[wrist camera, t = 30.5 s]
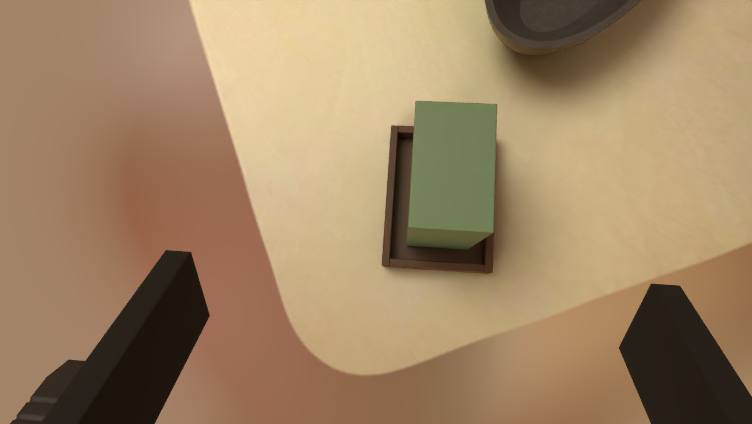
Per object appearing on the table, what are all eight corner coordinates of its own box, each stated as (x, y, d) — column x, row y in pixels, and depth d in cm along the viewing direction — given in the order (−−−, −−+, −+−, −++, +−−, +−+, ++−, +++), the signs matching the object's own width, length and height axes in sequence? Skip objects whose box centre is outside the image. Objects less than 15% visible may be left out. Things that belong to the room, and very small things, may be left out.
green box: (406, 245, 37) (407, 227, 27) (412, 153, 39) (415, 100, 28) (467, 249, 37) (493, 233, 26) (470, 156, 38) (497, 103, 28)
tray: (382, 266, 38) (381, 265, 36) (391, 133, 40) (391, 125, 38) (487, 273, 37) (492, 272, 35) (491, 138, 39) (496, 130, 37)
